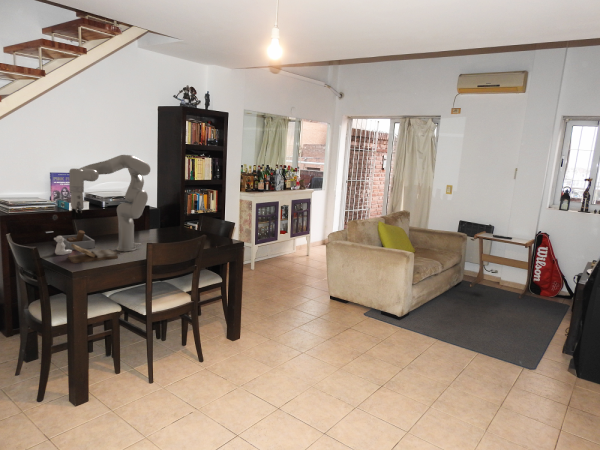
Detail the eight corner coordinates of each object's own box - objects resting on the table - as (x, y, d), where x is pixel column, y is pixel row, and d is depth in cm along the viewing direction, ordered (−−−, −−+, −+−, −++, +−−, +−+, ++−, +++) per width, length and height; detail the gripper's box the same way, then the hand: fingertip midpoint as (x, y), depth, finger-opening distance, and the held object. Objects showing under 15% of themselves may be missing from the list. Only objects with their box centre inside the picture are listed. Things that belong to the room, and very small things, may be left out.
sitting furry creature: (72, 252, 274) (72, 234, 272) (65, 256, 265) (65, 237, 263) (57, 252, 273) (56, 233, 271) (50, 255, 265) (49, 236, 263)
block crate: (84, 241, 307) (84, 234, 307) (94, 247, 290) (94, 240, 289) (59, 243, 297) (59, 236, 296) (68, 250, 279) (68, 242, 278)
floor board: (110, 253, 277) (110, 248, 277) (117, 258, 267) (117, 253, 267) (67, 258, 261) (67, 253, 260) (73, 263, 251) (73, 258, 250)
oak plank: (88, 253, 267) (89, 250, 268) (94, 257, 259) (95, 255, 259) (71, 246, 260) (72, 243, 261) (76, 250, 251) (77, 247, 252)
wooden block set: (68, 251, 285) (72, 238, 282) (60, 244, 288) (64, 231, 285) (92, 247, 301) (96, 235, 298) (84, 241, 304) (88, 229, 301)
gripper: (87, 191, 250) (87, 220, 252) (79, 188, 262) (79, 216, 265) (73, 190, 245) (73, 220, 247) (66, 188, 258) (66, 216, 260)
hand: (76, 218), depth 256 cm, fingers open, 9 cm apart
